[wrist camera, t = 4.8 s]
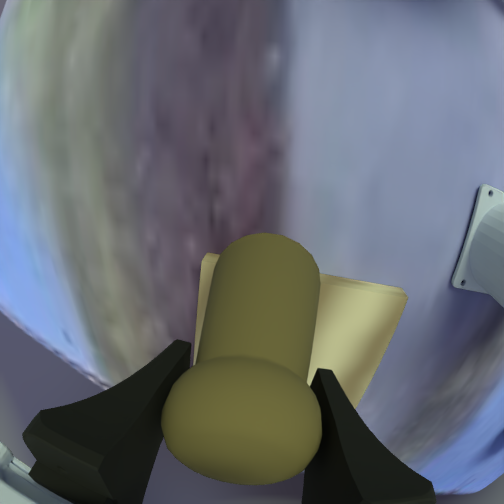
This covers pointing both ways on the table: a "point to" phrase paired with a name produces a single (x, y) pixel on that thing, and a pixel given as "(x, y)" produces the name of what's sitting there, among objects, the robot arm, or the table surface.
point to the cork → (251, 368)
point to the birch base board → (338, 326)
